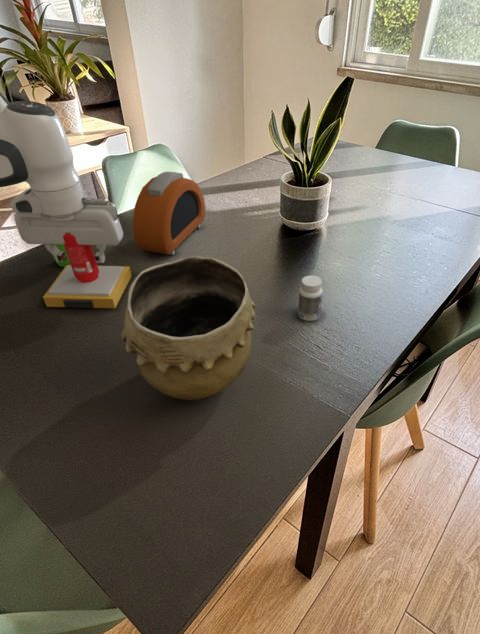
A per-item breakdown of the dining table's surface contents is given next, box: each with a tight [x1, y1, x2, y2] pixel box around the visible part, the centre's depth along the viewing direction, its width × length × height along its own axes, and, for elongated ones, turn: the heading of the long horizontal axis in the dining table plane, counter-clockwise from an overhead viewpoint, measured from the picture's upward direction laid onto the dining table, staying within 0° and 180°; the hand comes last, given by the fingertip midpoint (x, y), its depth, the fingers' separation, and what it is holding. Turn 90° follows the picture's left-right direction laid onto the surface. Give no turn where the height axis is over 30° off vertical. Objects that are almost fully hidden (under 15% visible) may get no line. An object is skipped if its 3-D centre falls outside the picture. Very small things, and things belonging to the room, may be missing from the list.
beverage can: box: [63, 232, 99, 283], centre depth 91 cm, size 5×5×12 cm
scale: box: [42, 265, 133, 309], centre depth 95 cm, size 15×14×3 cm
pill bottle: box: [297, 275, 324, 322], centre depth 87 cm, size 5×5×8 cm
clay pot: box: [120, 255, 256, 401], centre depth 69 cm, size 21×21×20 cm
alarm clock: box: [132, 171, 206, 256], centre depth 109 cm, size 23×9×17 cm, turn 161°
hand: (81, 261), depth 91 cm, fingers open, 7 cm apart
